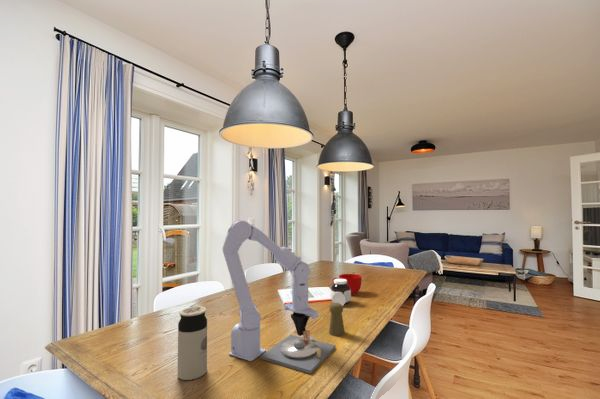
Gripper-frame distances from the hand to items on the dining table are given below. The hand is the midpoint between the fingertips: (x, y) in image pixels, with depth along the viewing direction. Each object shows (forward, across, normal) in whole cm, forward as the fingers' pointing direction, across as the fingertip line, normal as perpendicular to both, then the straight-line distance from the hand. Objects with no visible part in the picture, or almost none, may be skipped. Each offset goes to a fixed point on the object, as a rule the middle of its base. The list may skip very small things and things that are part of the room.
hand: (300, 334), depth 98 cm
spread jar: (+4, +16, -47) cm, 50 cm away
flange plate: (+3, -3, +3) cm, 5 cm away
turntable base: (+4, -4, +4) cm, 7 cm away
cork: (+4, -3, -17) cm, 18 cm away
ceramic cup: (+4, +25, -66) cm, 71 cm away
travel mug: (+4, +12, +34) cm, 36 cm away
